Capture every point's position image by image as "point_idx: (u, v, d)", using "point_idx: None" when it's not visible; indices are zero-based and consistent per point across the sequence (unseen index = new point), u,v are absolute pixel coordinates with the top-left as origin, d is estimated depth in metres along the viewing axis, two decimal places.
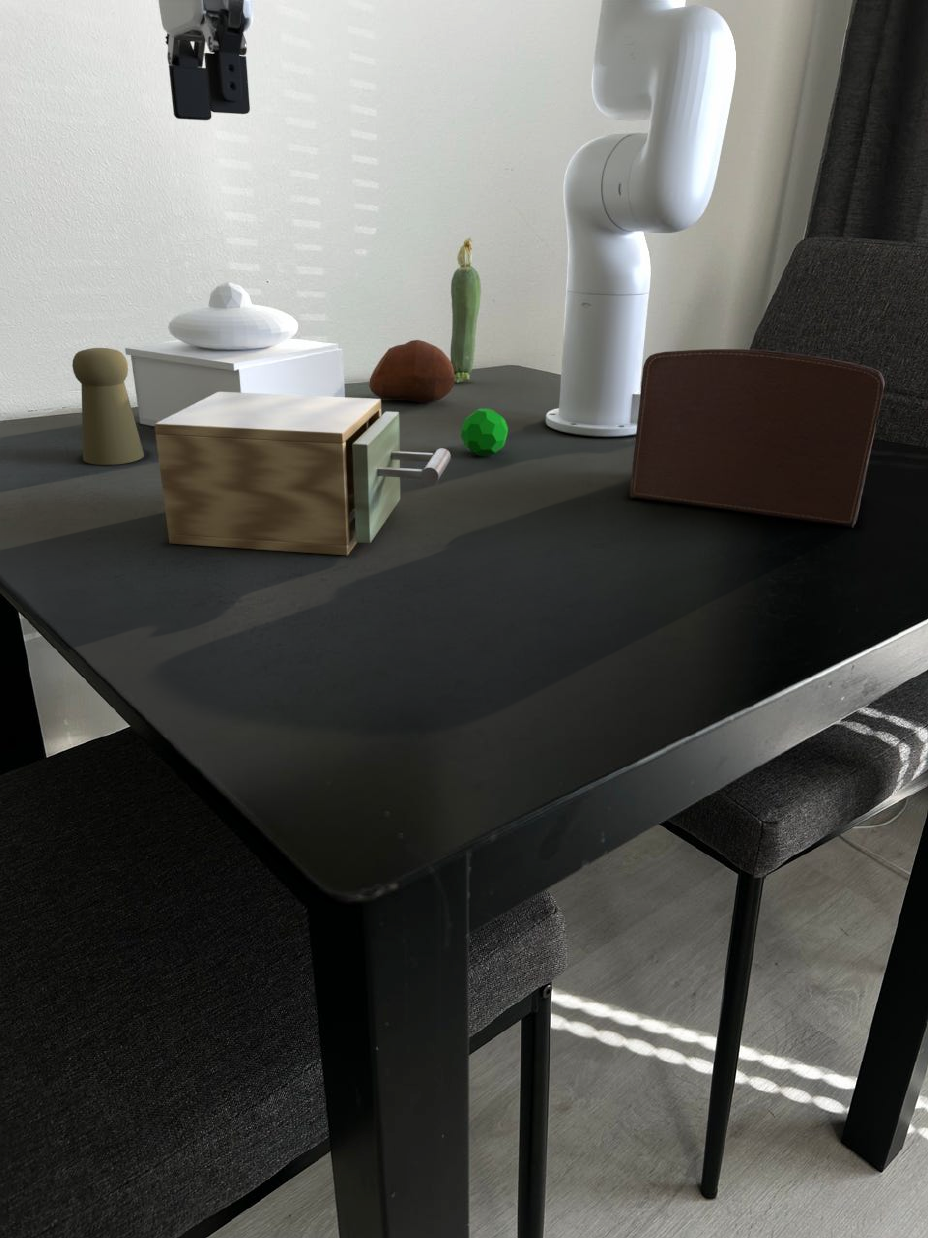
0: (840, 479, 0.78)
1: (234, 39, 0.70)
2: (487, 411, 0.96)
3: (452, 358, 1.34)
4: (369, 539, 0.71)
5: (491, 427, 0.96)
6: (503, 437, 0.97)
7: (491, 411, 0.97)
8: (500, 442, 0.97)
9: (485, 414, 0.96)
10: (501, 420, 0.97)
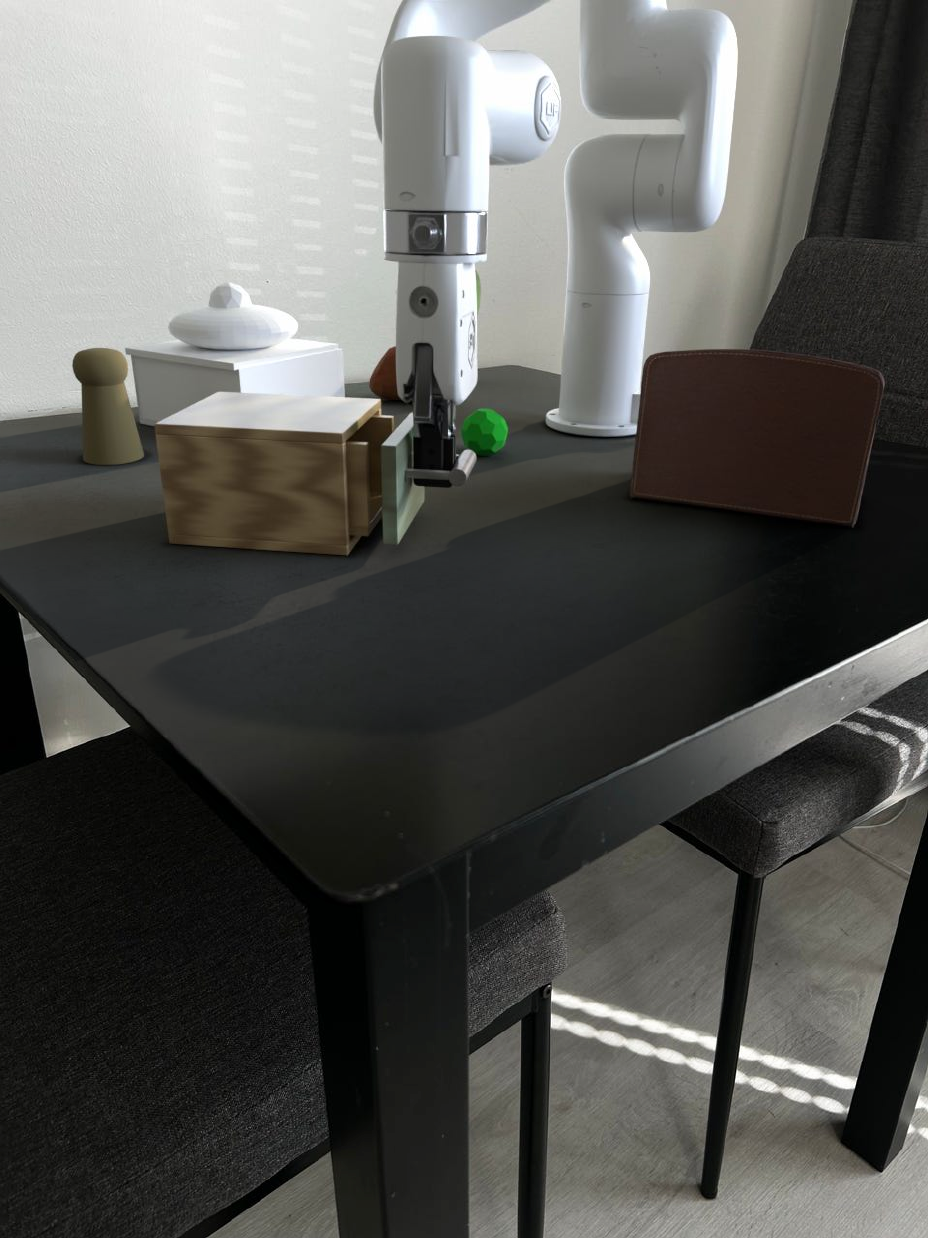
0: (840, 479, 0.78)
1: (432, 431, 0.70)
2: (487, 411, 0.96)
3: None
4: (397, 541, 0.70)
5: (491, 427, 0.96)
6: (503, 437, 0.97)
7: (491, 411, 0.97)
8: (500, 442, 0.97)
9: (485, 414, 0.96)
10: (501, 420, 0.97)
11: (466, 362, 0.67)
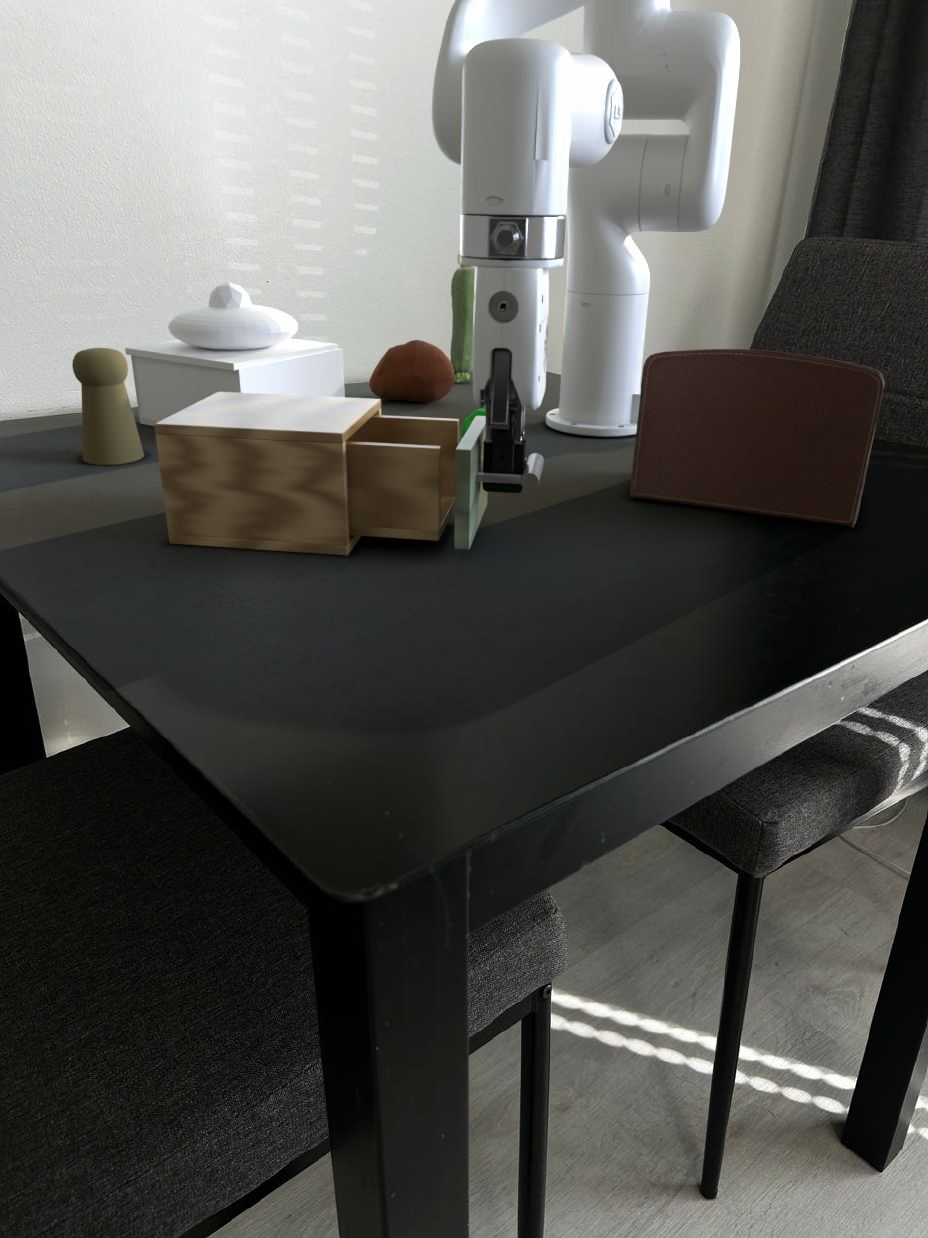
0: (840, 479, 0.78)
1: (505, 436, 0.69)
2: None
3: (452, 358, 1.34)
4: (468, 546, 0.70)
5: None
6: None
7: None
8: None
9: (485, 414, 0.96)
10: None
11: (542, 367, 0.66)
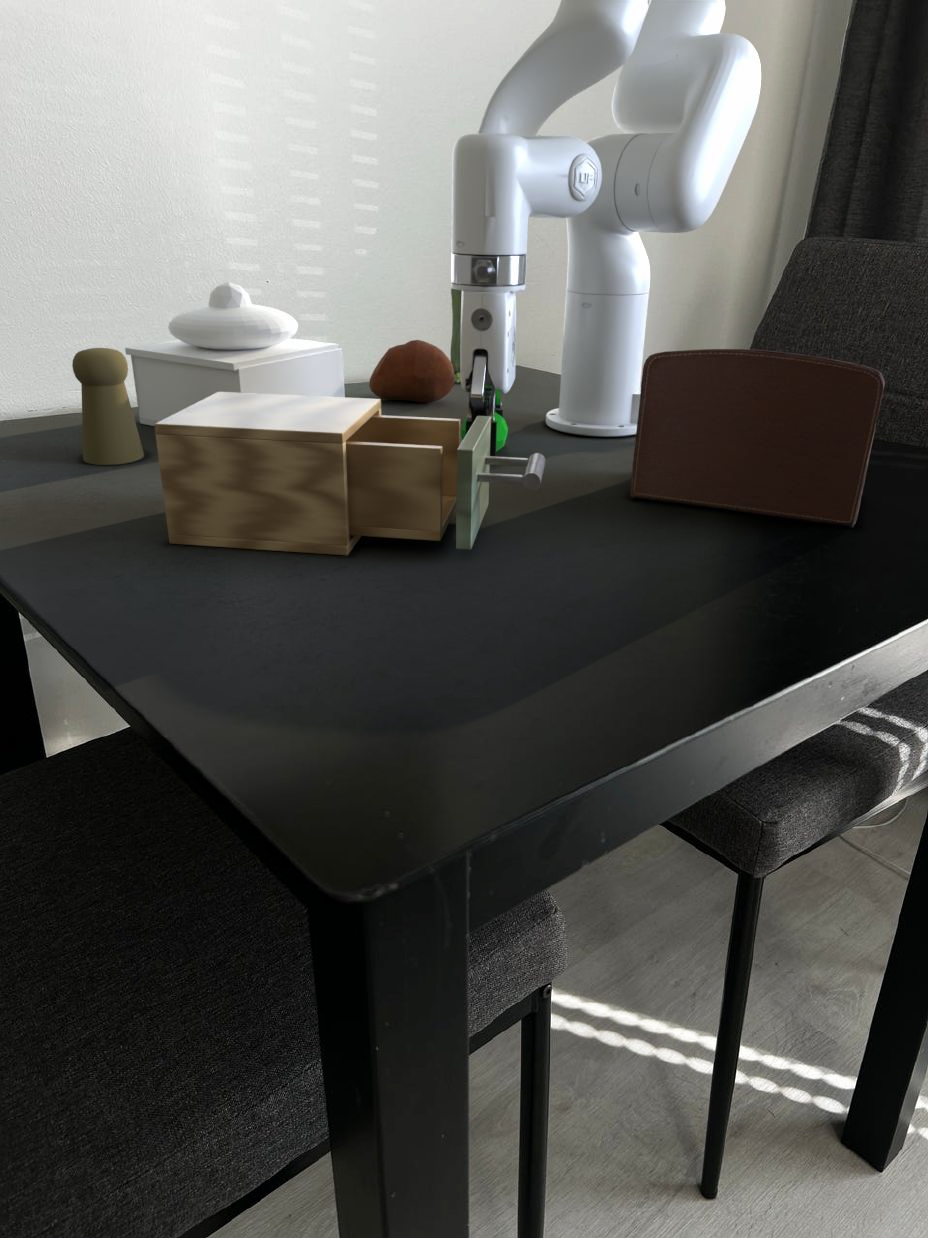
0: (840, 479, 0.78)
1: None
2: None
3: (452, 358, 1.34)
4: (470, 546, 0.70)
5: None
6: (503, 437, 0.97)
7: None
8: (500, 442, 0.97)
9: None
10: (501, 420, 0.97)
11: (510, 362, 0.92)
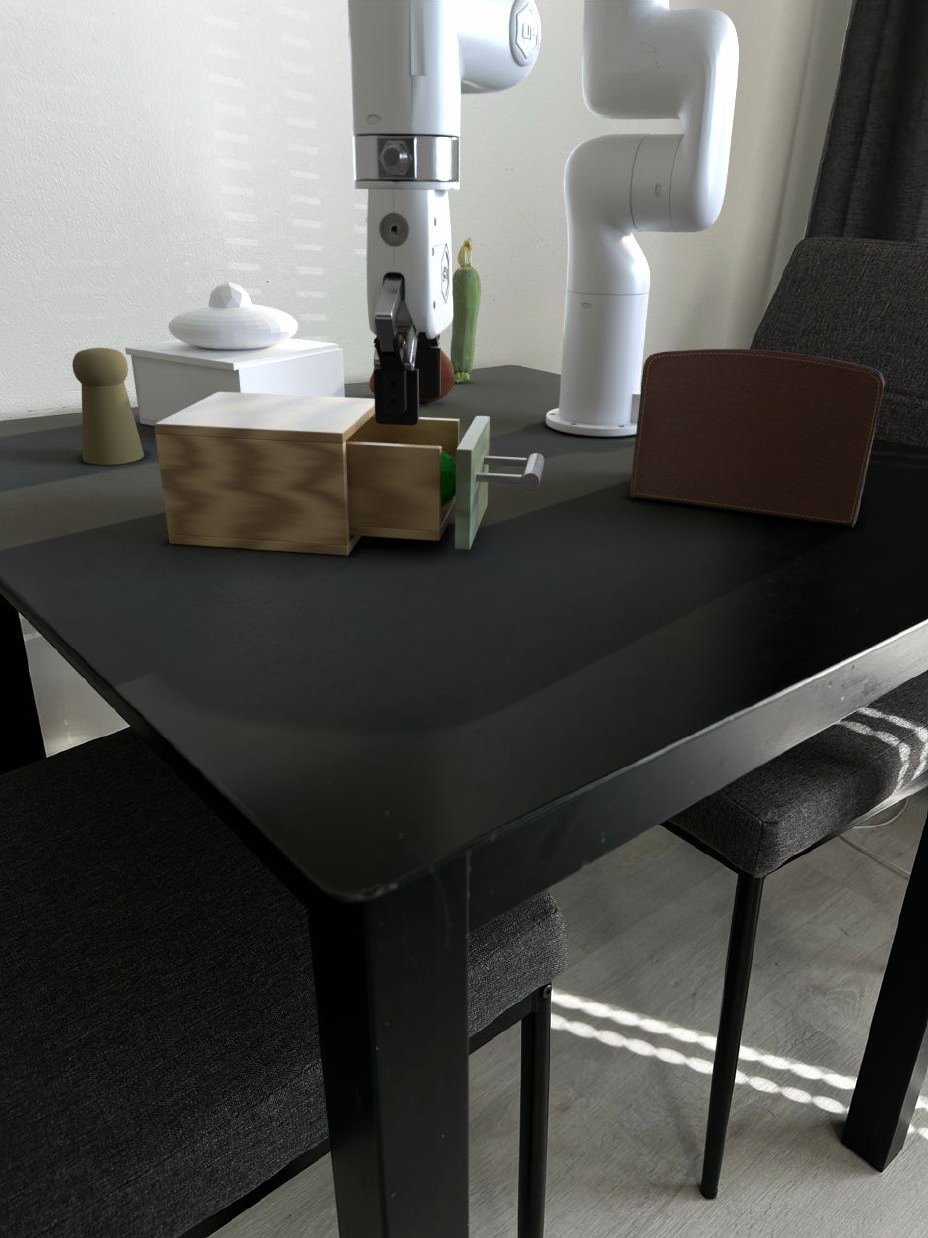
0: (840, 479, 0.78)
1: (393, 361, 0.64)
2: (442, 470, 0.70)
3: (452, 358, 1.34)
4: (469, 546, 0.70)
5: None
6: (444, 504, 0.72)
7: (447, 471, 0.70)
8: None
9: None
10: (453, 488, 0.71)
11: (439, 294, 0.65)
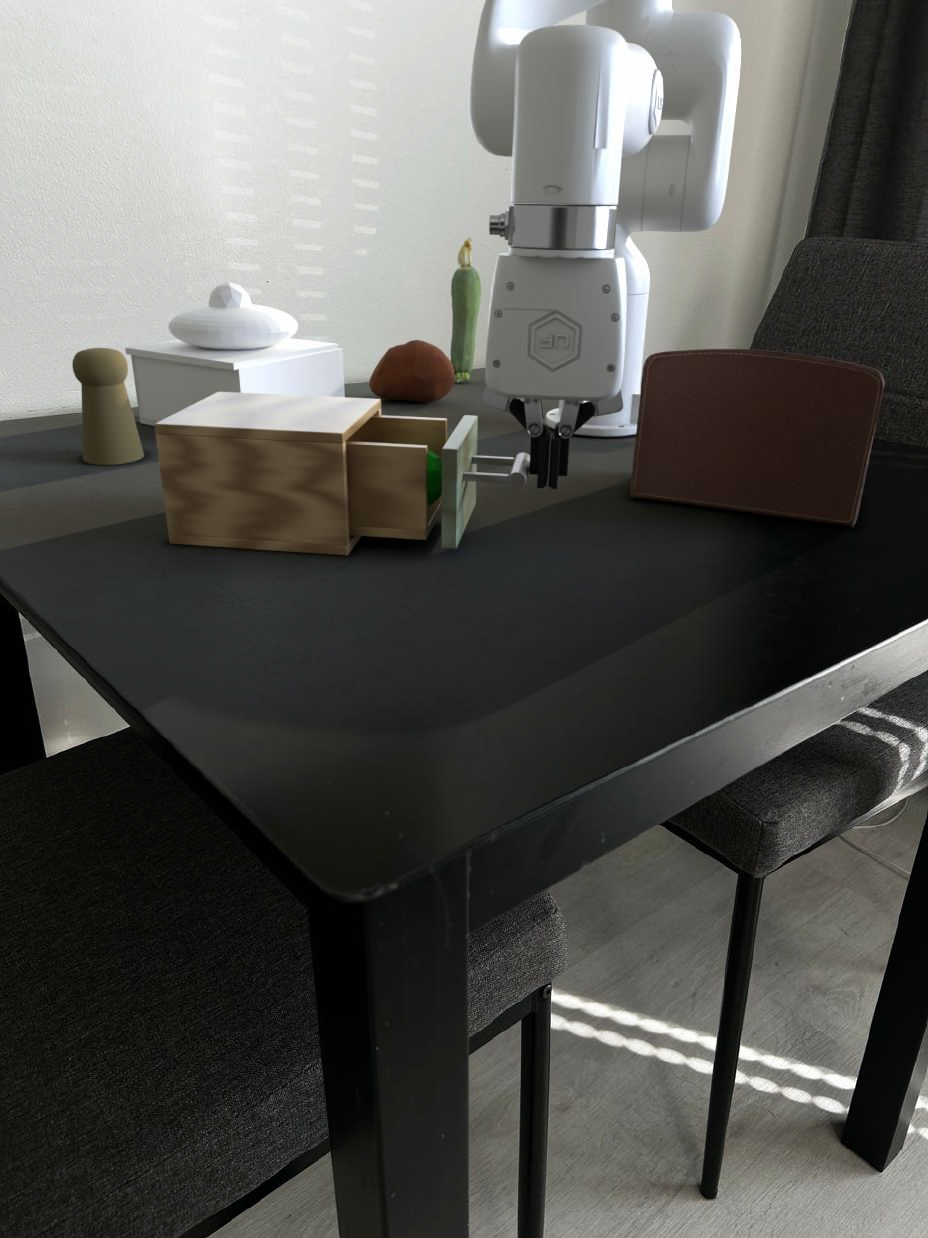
0: (840, 479, 0.78)
1: None
2: (429, 469, 0.70)
3: (452, 358, 1.34)
4: (455, 545, 0.70)
5: None
6: (431, 504, 0.72)
7: (434, 470, 0.71)
8: None
9: None
10: (440, 487, 0.71)
11: (519, 357, 0.66)
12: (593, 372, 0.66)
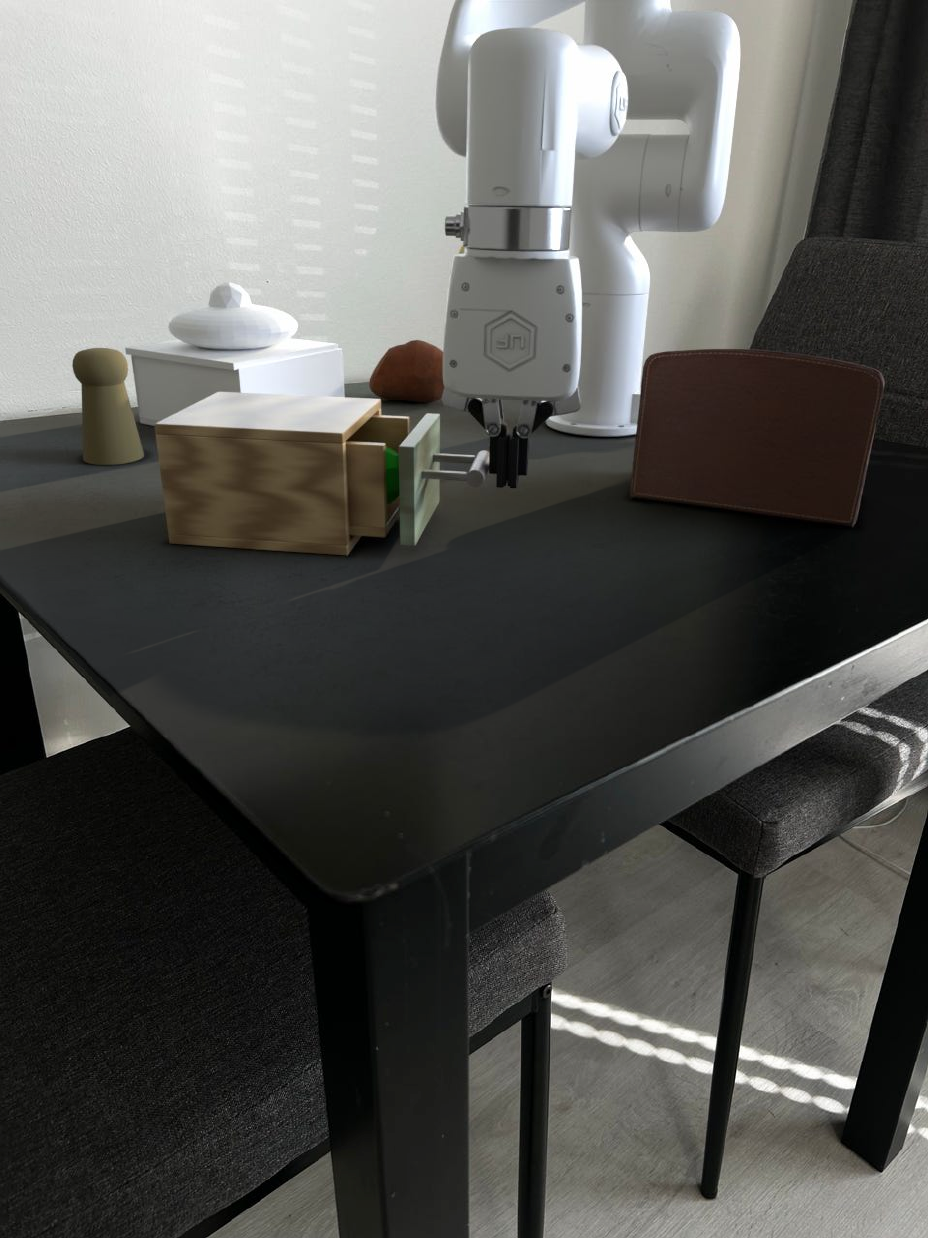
0: (840, 479, 0.78)
1: None
2: (388, 467, 0.71)
3: None
4: (414, 542, 0.70)
5: None
6: (391, 501, 0.73)
7: (393, 468, 0.71)
8: None
9: None
10: None
11: (475, 357, 0.66)
12: (549, 372, 0.66)
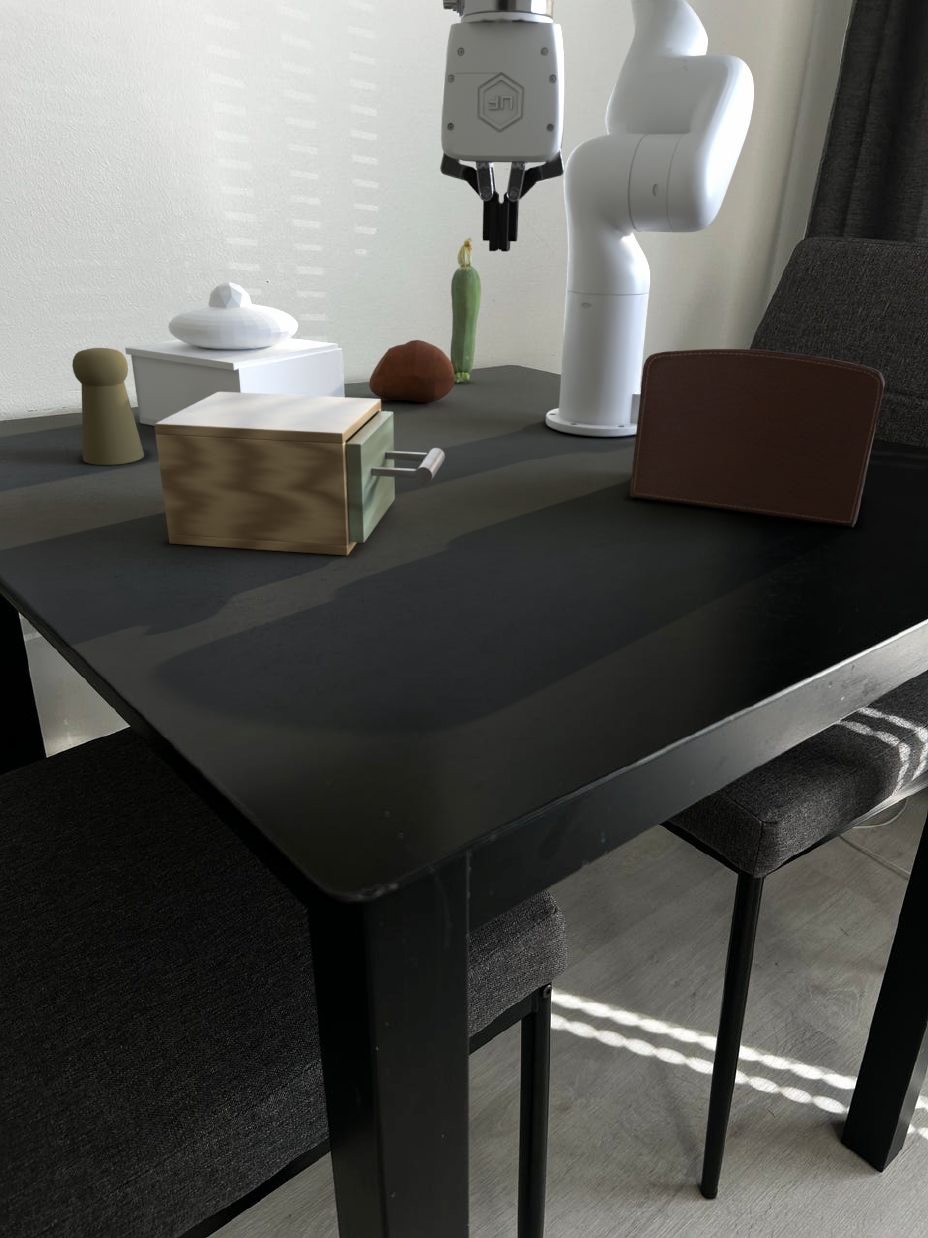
0: (840, 479, 0.78)
1: None
2: None
3: (452, 358, 1.34)
4: (363, 539, 0.71)
5: None
6: None
7: None
8: None
9: None
10: None
11: (469, 119, 0.75)
12: (535, 131, 0.75)
